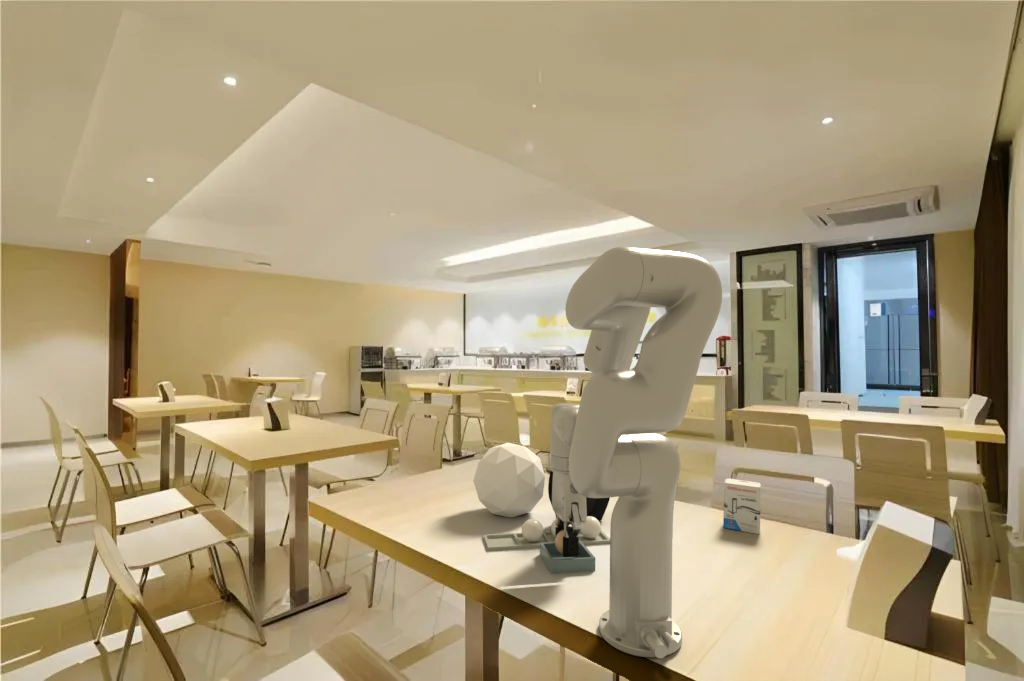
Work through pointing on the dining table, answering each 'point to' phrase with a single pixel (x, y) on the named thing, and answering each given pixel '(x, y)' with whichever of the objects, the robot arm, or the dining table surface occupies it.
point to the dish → (566, 559)
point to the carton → (520, 543)
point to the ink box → (742, 505)
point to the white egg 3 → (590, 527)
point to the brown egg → (559, 541)
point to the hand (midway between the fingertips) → (566, 550)
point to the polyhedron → (509, 480)
